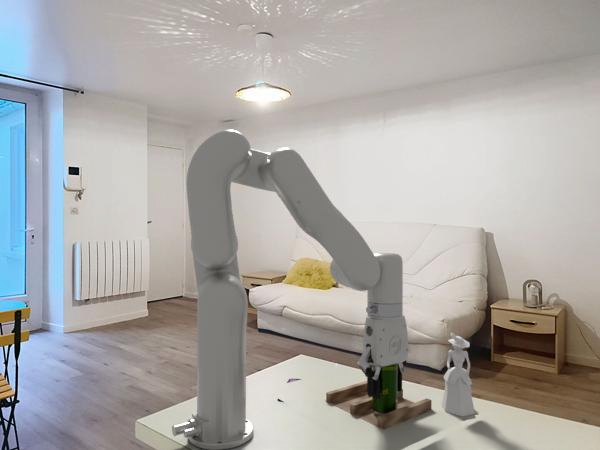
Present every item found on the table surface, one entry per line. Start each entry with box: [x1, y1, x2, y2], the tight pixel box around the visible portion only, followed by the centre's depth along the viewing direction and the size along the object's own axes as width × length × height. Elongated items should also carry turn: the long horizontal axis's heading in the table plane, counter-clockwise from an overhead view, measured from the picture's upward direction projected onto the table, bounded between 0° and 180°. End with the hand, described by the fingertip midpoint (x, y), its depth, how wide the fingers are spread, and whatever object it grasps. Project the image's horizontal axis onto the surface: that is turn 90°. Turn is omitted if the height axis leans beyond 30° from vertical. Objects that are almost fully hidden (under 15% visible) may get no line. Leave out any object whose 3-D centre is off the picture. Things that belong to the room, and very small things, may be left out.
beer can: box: [372, 362, 398, 416], centre depth 93 cm, size 5×5×12 cm
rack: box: [325, 380, 433, 431], centre depth 97 cm, size 16×18×3 cm
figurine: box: [440, 332, 476, 422], centre depth 95 cm, size 7×8×18 cm
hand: (384, 392), depth 92 cm, fingers open, 6 cm apart
